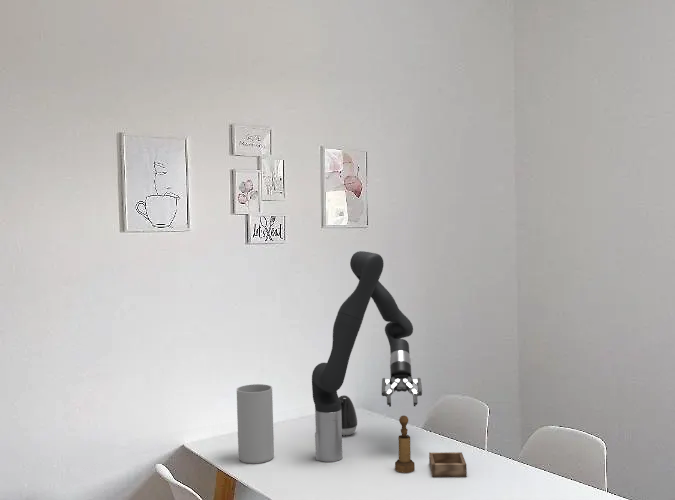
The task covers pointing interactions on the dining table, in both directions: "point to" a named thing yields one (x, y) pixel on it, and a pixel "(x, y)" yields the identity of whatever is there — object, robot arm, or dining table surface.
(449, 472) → the box
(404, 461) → the brown wooden chess piece
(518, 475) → the dining table surface
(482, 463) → the dining table surface
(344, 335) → the robot arm
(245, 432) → the cylinder vase
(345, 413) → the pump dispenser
